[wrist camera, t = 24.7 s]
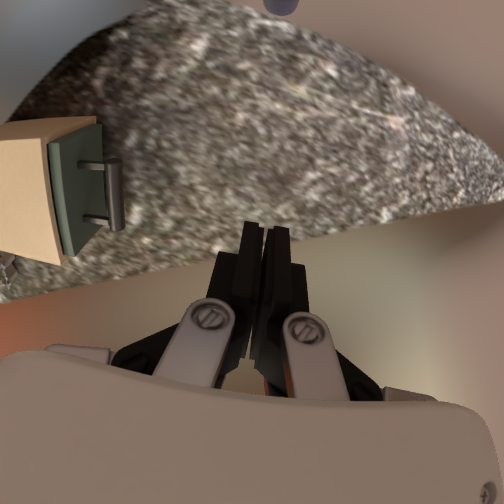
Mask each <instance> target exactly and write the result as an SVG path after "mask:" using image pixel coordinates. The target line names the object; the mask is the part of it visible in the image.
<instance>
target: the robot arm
mask: <svg viewBox="0 0 504 504" xmlns="http://www.w3.org/2000/svg"><path fill="white" fill-rule="evenodd" d="M263 235H264V228H262V227H259V223H255V222H249V221H245V222H244V227H243V233H242V238H241V243H240V249H239V254H233V253H227V252H221V251H219V252H218V255H217V259H216V262H215V266H214V269H213V273H212V277H211V281H210V285H209V289H208V292H207V295H206V298H203V299H200V300H196V301H195V302H193V303H192V304H191V305H190V306H189V307H188V308H187V310H186V312H185V314H184V316H183V317H182V319H181V321H180V323H177V324H175V325H173V326H171V327H169V328H166V329H164V330H162V331H160V332H157V333H155V334H153V335H151V336H148V337H146V338H144V339H142V340H140V341H137V342H135V343H132V344H130V345H128V346H126V347H124V348H122V349H120V350H119V351H118V352H112V351H110V348H98V347H85V346H74V345H64V344H53V345H50V346H48V347H47V348H45V349H44V350H30V351H20V352H15V353H12V354H9V355H7V356H5V357H4V358H3V359H1V360H0V504H504V493H503V485H502V479H501V472H500V468H499V463H498V458H497V454H496V450H495V446H494V443H493V440H492V437H491V434H490V431H489V429H488V427H487V425H486V423H485V421H484V420H483V418H482V417H481V416H480V415H479V414H478V413H476V412H475V411H473V410H471V409H469V408H466V407H463V406H460V405H457V404H452V403H448V402H441V401H438V400H436V399H435V398H434V397H432V396H429V395H424V394H419V393H414V392H409V391H404V390H400V389H395V388H391V387H384V388H383V389H381V388H379V386H378V385H377V384H376V383H375V382H374V381H373V380H372V379H371V378H370V377H368V376H367V375H366V374H365V373H363V372H362V371H361V370H360V369H358V368H357V367H356V366H355V365H354V364H352V363H351V362H350V361H349V360H348V359H346V358H345V357H344V356H343V355H342V354H341V353H339V352H338V351H337V350H336V349H335V347H334V344H333V341H332V337H331V335H330V331H329V328H328V326H327V324H326V323H325V322H324V321H323V320H322V319H321V318H319V317H318V316H316V315H314V314H311V313H309V301H308V291H307V281H306V271H305V266H304V265H301V264H295V263H291V255H290V254H291V252H290V234H289V228H285V227H279V226H274V229H268V232H267V237H266V242H265V247H264V252H263V257H262V248H263ZM252 325H253V326H252ZM251 329H252V336H251V347H250V358H249V359H252V360H255V365H254V368H255V369H257V370H258V371H259V372H260V373H261V374H262V375H263V376H264V377H265V378H264V390H265V395H256V394H248V393H241V392H234V391H227V390H222V387H223V384H224V381H225V378H226V374H227V373H229V372H230V371H232V370H234V369H235V368H237V367H238V364H239V360H240V358H245V355H246V351H247V346H248V342H249V338H250V333H251Z"/></svg>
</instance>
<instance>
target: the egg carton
mask: <svg viewBox="0 0 504 504" xmlns="http://www.w3.org/2000/svg"><path fill="white" fill-rule="evenodd" d="M14 259H15V255H14V254H12V253H8V252H5V251H1V250H0V285H4V286H6V287H7V288H8V289H10V287H11V282H12V281H13V280H14V279H15V278H16V276H18V273H17V270H16V268H15V267H14V266H13V264H12V261H13V260H14ZM10 290H11V289H10Z"/></svg>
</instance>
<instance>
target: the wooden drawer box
mask: <svg viewBox="0 0 504 504" xmlns="http://www.w3.org/2000/svg"><path fill="white" fill-rule="evenodd" d="M91 124H96V116H78V117H58V118H44V119H33V120H23V121H14V122H8V123H5V124H3V125H0V250H1V251H5V252H8V253H12V254H16V255H20V256H23V257H27V258H31V259H35V260H39V261H43V262H47V263H51V264H55V265H60V266H61V265H62V264H63V263H64V262H65V261H66V260H67V258H68V257H69V256H68V255H65V253H64V249H63V244H62V240H60V238H59V234H58V229H57V223H56V218H55V212H54V206H53V200H52V193H51V186H50V178H49V169H48V159H47V147H46V144H48V143H49V142H51V141H53V140H55V139H58V138H60V137H62V136H64V135H66V134H69V133H71V132H73V131H76V130H78V129H81V128H83V127H85V126H88V125H91Z"/></svg>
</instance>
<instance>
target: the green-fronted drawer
mask: <svg viewBox="0 0 504 504" xmlns="http://www.w3.org/2000/svg"><path fill="white" fill-rule="evenodd" d="M46 147H47V159H50V170H51V179H52V187H53V194H54V201H53V206H54V212H55V218H56V223H57V229H58V234H59V238H60V240H62V244H63V249H64V253H65V255H68V256H72V257H75V256H76V255H77V254H78V253H79V251H80V250H81V249H82V248H83V247H84V246H85V245H86V243H87V242H88V241H89V240H90V239H91V238H92V237H93V236H94V234H95V233H96V232H97V231H98V230H99V229H100V228H101V227H102V226H103V225H107V226H109V225H110V229H111V230H112V231H121V230H123V229H124V228H125V214H124V197H123V169H122V159H118V158H113V159H109V160H106V161H103V158H102V124H91V125H88V126H85V127H83V128H81V129H78V130H76V131H73V132H71V133H69V134H66V135H64V136H62V137H60V138H58V139H55V140H53V141H51V142H49V143H48V144H46ZM103 171H105V173H106V190H107V203H108V215H109V217H107V216H106V206H105V194H104V179H103Z"/></svg>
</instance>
